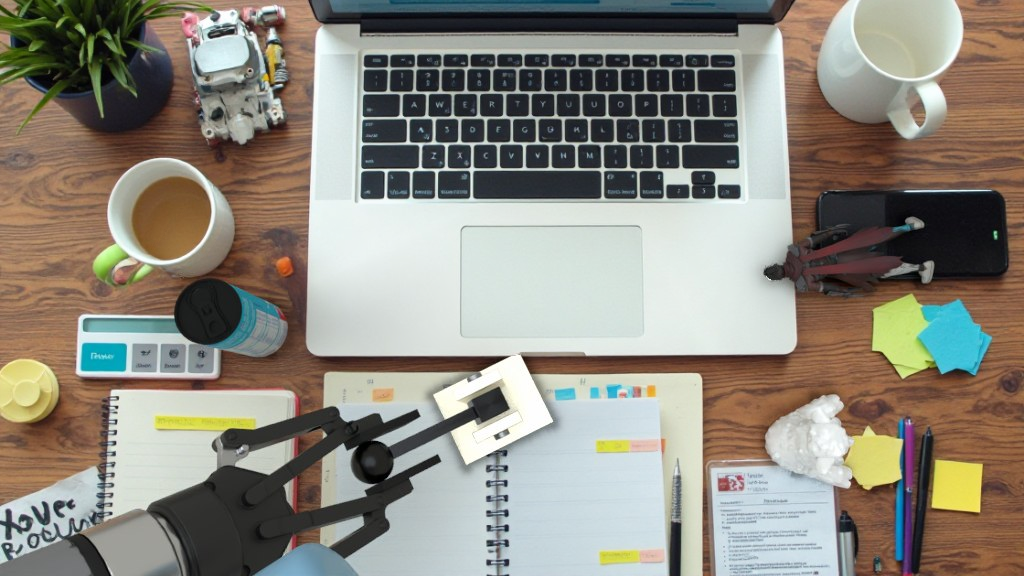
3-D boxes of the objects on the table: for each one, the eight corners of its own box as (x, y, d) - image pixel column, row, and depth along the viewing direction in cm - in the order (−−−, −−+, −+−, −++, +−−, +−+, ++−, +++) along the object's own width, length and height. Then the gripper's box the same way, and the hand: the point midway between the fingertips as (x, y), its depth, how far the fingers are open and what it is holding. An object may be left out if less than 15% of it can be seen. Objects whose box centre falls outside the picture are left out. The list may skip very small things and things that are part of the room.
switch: (360, 492, 65) (362, 491, 62) (343, 453, 66) (343, 450, 62) (506, 420, 70) (515, 415, 66) (489, 384, 70) (497, 377, 67)
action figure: (904, 219, 84) (745, 244, 83) (934, 199, 78) (763, 226, 77) (926, 289, 82) (763, 316, 81) (958, 274, 76) (783, 303, 75)
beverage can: (282, 295, 83) (231, 269, 68) (297, 347, 82) (248, 332, 67) (229, 313, 83) (166, 290, 68) (243, 365, 82) (182, 353, 67)
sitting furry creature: (849, 487, 79) (906, 499, 67) (765, 493, 79) (808, 505, 67) (836, 394, 80) (890, 389, 69) (753, 399, 80) (793, 396, 69)
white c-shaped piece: (466, 464, 80) (454, 475, 65) (434, 394, 81) (414, 389, 66) (553, 421, 80) (560, 422, 66) (519, 352, 82) (518, 338, 67)
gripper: (102, 459, 55) (361, 370, 72) (190, 685, 52) (437, 536, 70) (134, 427, 50) (404, 339, 67) (233, 674, 47) (487, 517, 65)
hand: (420, 439), depth 68 cm, fingers closed on switch, 4 cm apart
